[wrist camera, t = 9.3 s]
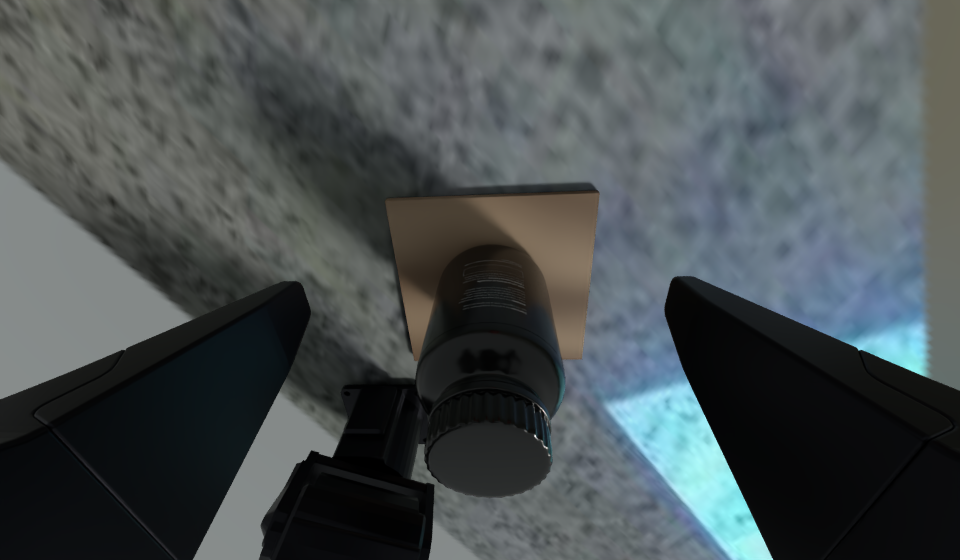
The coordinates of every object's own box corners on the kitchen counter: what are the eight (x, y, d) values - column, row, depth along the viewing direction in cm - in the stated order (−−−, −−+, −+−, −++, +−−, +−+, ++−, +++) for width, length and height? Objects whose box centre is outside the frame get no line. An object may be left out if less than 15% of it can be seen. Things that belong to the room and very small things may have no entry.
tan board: (580, 354, 27) (581, 359, 27) (415, 356, 28) (414, 360, 28) (597, 190, 21) (599, 192, 21) (386, 198, 22) (384, 201, 22)
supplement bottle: (419, 298, 25) (361, 471, 14) (478, 218, 22) (457, 364, 11) (504, 347, 27) (505, 532, 16) (569, 279, 24) (623, 453, 13)
